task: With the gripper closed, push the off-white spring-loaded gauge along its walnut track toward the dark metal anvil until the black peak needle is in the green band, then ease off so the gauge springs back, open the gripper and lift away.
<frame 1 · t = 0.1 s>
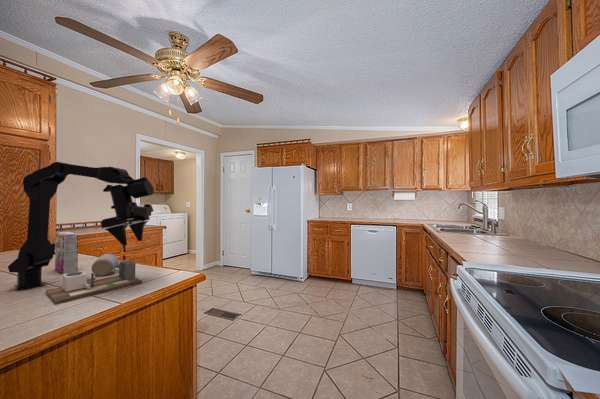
hand: (133, 242, 88), 15 cm above the counter, tool pointing down, fingers open, 9 cm apart
gauge: (81, 280, 81), point 4 cm above the counter, slide at 0.0 cm
ceramic mug: (109, 273, 101), on the counter
peak needle: (92, 280, 80), point 4 cm above the counter, slide at 0.0 cm
candy bar box: (65, 271, 103), on the counter
test rig: (96, 288, 84), on the counter
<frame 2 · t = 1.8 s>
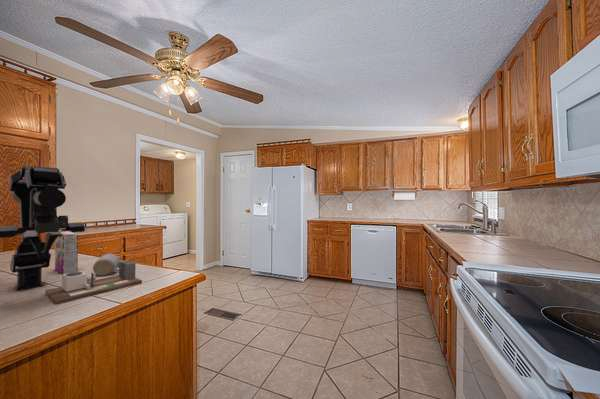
hand: (42, 257, 75), 13 cm above the counter, tool pointing down, fingers closed
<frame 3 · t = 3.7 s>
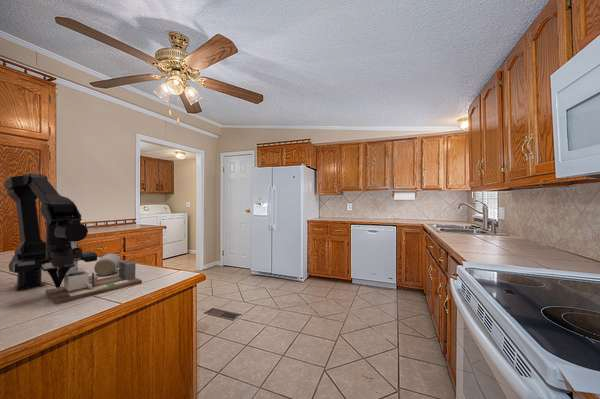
hand: (57, 287, 78), 3 cm above the counter, tool pointing down, fingers closed
gauge: (83, 280, 82), point 4 cm above the counter, slide at 0.5 cm, touching gripper, peak needle
peak needle: (93, 280, 80), point 4 cm above the counter, slide at 0.2 cm, touching gauge
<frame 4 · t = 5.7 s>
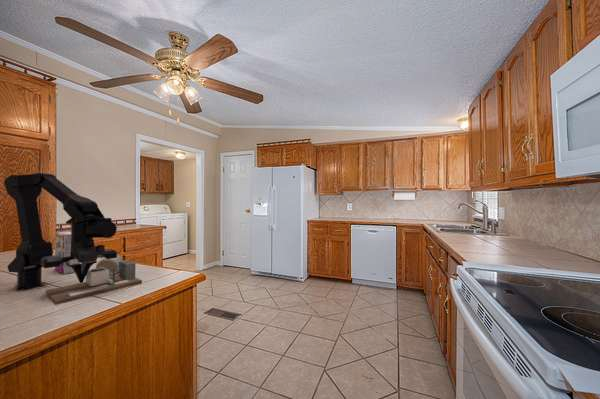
hand: (81, 282, 83), 3 cm above the counter, tool pointing down, fingers closed
gauge: (104, 276, 86), point 4 cm above the counter, slide at 6.2 cm, touching gripper, peak needle
peak needle: (113, 275, 85), point 4 cm above the counter, slide at 5.9 cm, touching gauge
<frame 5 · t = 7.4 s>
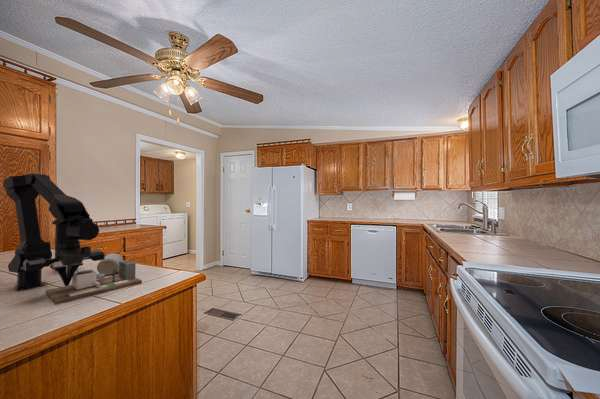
hand: (66, 285, 80), 3 cm above the counter, tool pointing down, fingers closed
gauge: (91, 278, 83), point 4 cm above the counter, slide at 2.6 cm, touching gripper
peak needle: (113, 275, 85), point 4 cm above the counter, slide at 5.9 cm
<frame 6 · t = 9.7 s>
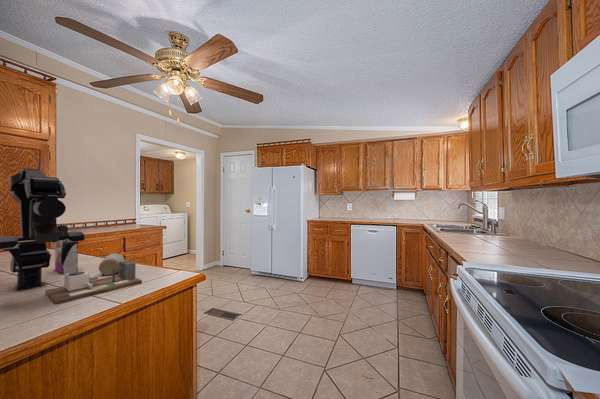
hand: (42, 266, 75), 10 cm above the counter, tool pointing down, fingers open, 9 cm apart
gauge: (84, 280, 82), point 4 cm above the counter, slide at 0.6 cm
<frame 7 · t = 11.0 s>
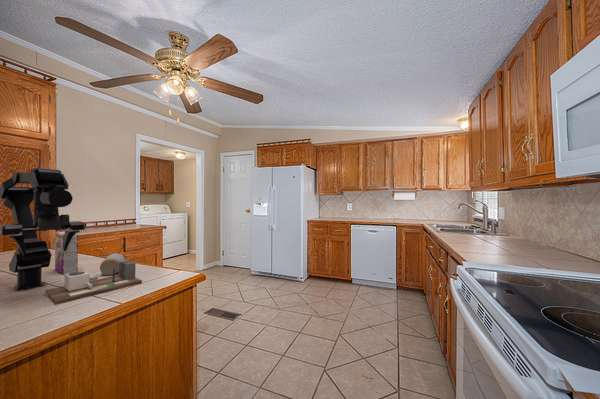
hand: (45, 253, 80), 13 cm above the counter, tool pointing down, fingers open, 9 cm apart
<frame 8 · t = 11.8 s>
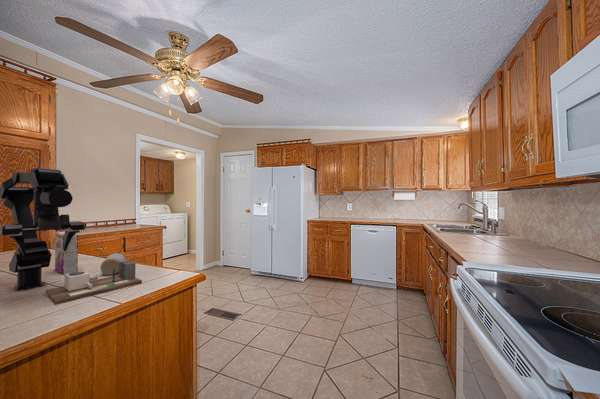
hand: (45, 253, 80), 13 cm above the counter, tool pointing down, fingers open, 9 cm apart
at the end: peak needle slide at 5.9 cm; gauge slide at 0.6 cm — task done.
